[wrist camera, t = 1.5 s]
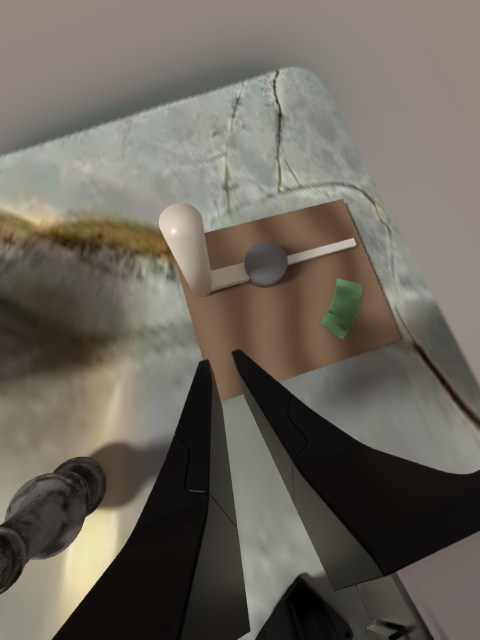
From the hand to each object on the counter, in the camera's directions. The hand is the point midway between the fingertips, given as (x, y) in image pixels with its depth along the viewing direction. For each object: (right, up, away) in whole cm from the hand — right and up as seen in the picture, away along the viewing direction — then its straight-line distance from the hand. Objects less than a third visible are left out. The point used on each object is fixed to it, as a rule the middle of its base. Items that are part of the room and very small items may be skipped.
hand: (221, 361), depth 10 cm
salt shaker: (-15, -14, +11) cm, 23 cm away
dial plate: (+6, +5, +15) cm, 17 cm away
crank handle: (+5, +8, +14) cm, 17 cm away
